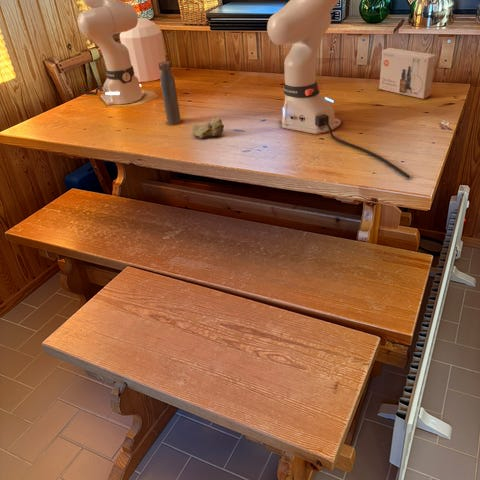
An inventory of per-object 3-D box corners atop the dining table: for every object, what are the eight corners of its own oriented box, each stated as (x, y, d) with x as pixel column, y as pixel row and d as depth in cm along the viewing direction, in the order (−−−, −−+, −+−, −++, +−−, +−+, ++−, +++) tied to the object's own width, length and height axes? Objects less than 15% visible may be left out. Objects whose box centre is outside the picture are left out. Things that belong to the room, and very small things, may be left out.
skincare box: (377, 89, 194) (381, 50, 185) (385, 86, 197) (389, 47, 188) (423, 99, 180) (429, 56, 171) (430, 95, 183) (437, 53, 174)
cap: (164, 66, 174) (163, 61, 173) (173, 67, 172) (172, 61, 171) (157, 69, 171) (156, 64, 170) (166, 70, 169) (165, 64, 168)
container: (160, 81, 233) (149, 21, 217) (121, 82, 238) (108, 23, 222) (174, 69, 249) (165, 13, 233) (138, 70, 254) (126, 15, 238)
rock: (192, 135, 173) (196, 140, 164) (189, 118, 170) (194, 122, 161) (220, 130, 175) (226, 135, 166) (218, 113, 172) (223, 117, 163)
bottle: (172, 119, 186) (163, 61, 174) (184, 120, 184) (174, 62, 171) (164, 123, 182) (154, 65, 170) (175, 125, 180) (165, 66, 167)
